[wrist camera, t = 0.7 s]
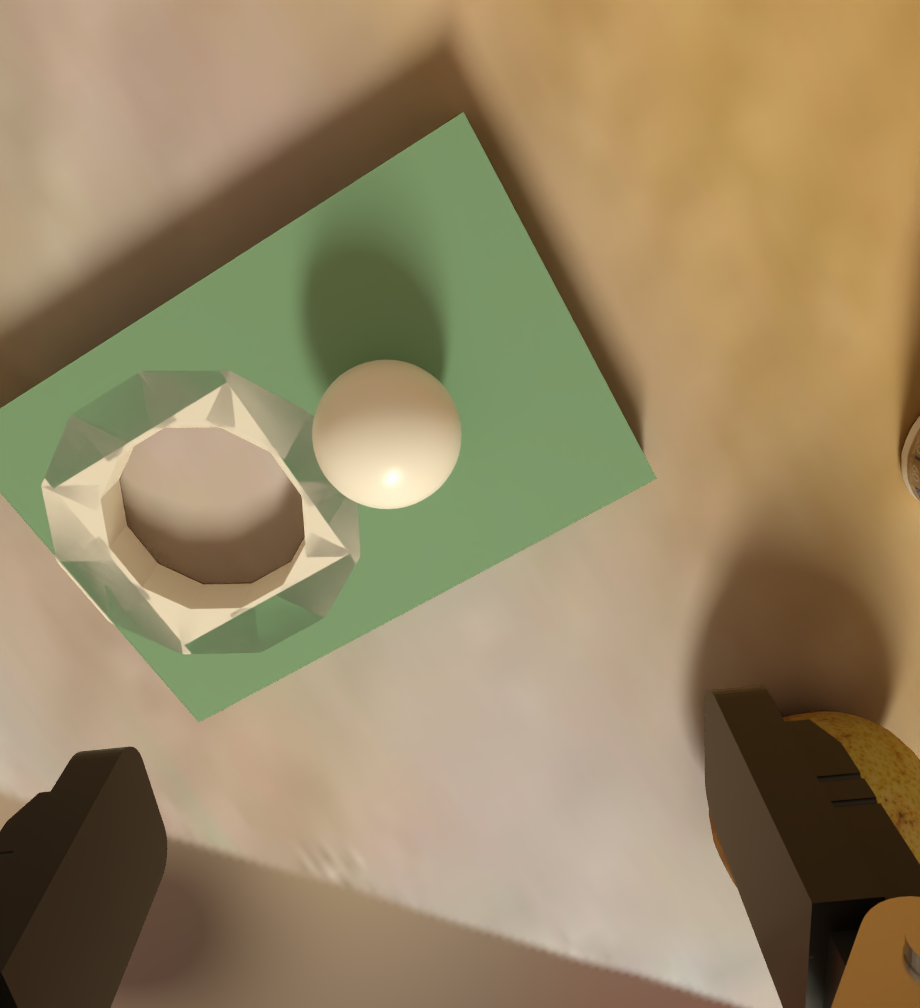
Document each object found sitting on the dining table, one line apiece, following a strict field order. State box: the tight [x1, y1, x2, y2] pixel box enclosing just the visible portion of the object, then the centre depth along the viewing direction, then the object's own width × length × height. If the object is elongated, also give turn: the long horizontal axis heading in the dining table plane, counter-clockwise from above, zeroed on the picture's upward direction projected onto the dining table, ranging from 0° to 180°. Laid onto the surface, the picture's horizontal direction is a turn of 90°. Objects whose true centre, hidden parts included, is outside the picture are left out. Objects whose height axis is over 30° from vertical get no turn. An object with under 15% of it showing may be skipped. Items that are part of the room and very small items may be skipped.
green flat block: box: [0, 112, 657, 722], centre depth 31 cm, size 21×14×2 cm
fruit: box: [709, 711, 920, 887], centre depth 33 cm, size 9×9×12 cm
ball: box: [312, 359, 462, 509], centre depth 27 cm, size 5×5×5 cm
